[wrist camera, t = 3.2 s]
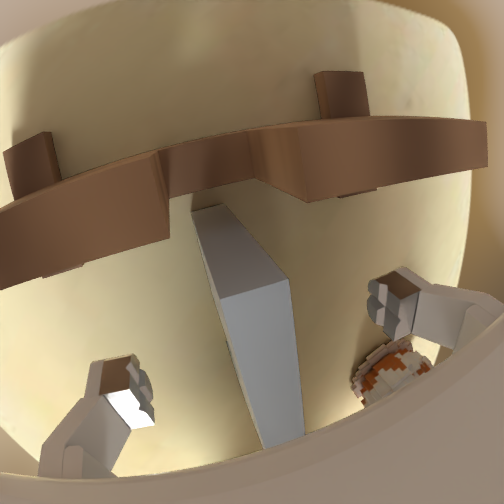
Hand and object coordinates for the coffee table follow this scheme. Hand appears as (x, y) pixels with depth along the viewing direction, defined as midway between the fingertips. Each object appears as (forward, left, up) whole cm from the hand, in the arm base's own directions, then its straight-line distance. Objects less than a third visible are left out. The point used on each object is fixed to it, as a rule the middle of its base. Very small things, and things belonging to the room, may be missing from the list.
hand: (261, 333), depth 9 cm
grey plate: (-4, +4, -10) cm, 11 cm away
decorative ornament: (-23, +4, -10) cm, 25 cm away
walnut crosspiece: (+3, -3, -10) cm, 11 cm away
